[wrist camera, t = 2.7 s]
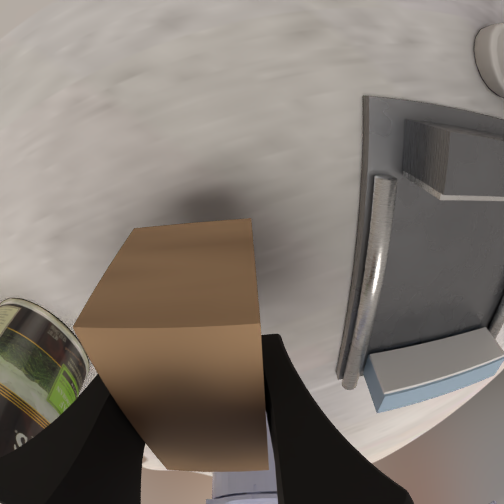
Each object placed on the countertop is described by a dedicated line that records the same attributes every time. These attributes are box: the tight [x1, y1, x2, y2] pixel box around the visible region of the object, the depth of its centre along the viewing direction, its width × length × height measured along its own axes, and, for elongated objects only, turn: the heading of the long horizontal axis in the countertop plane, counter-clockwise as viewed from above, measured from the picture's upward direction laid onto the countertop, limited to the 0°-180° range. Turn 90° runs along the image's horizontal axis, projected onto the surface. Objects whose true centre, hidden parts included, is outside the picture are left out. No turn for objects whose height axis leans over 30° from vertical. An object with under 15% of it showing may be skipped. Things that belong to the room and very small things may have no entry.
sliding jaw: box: [363, 327, 504, 413], centre depth 19 cm, size 2×12×4 cm, turn 94°
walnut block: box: [73, 218, 269, 472], centre depth 10 cm, size 8×4×5 cm, turn 4°
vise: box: [336, 96, 504, 390], centre depth 16 cm, size 20×16×5 cm
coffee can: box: [0, 299, 89, 458], centre depth 15 cm, size 10×10×14 cm
